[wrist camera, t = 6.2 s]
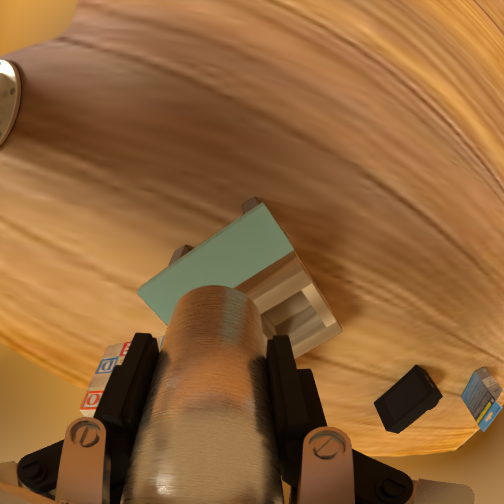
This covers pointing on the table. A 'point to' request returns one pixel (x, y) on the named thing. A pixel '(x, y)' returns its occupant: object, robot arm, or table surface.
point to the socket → (291, 304)
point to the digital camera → (407, 400)
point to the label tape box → (482, 397)
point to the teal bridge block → (219, 259)
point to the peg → (208, 409)
